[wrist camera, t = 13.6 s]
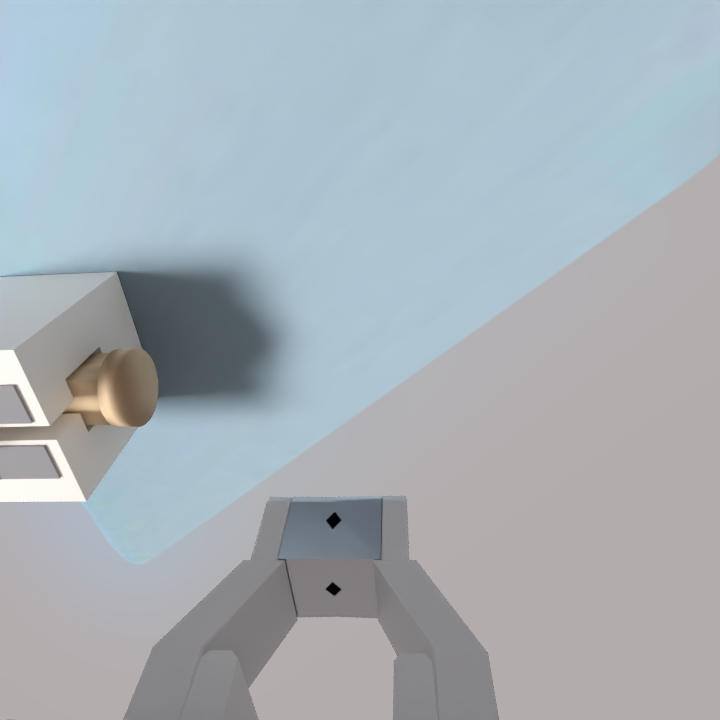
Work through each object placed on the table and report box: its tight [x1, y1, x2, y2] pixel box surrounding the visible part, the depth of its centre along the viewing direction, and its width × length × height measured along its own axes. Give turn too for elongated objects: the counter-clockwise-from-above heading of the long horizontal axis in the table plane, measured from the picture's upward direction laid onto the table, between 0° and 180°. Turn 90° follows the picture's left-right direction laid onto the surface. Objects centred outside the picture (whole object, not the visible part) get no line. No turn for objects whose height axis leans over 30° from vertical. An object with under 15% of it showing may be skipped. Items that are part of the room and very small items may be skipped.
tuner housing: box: [0, 272, 142, 502], centre depth 40 cm, size 11×13×14 cm
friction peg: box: [62, 348, 158, 427], centre depth 36 cm, size 12×6×12 cm, turn 94°
